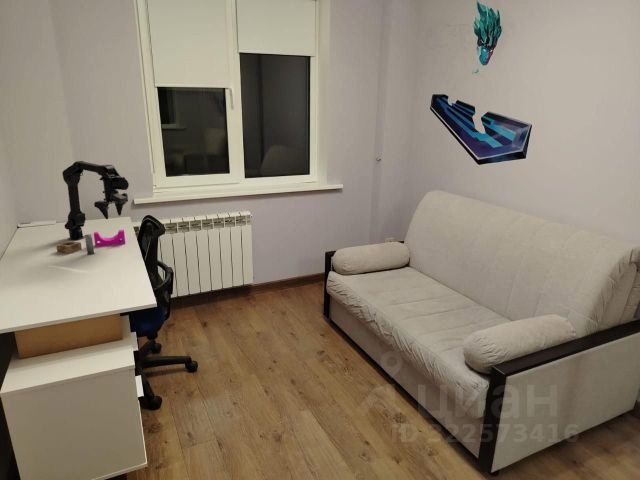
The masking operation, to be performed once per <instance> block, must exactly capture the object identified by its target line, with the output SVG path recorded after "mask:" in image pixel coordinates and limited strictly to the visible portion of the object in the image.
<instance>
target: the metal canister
mask: <svg viewBox="0 0 640 480" xmlns="http://www.w3.org/2000/svg"><path fill="white" fill-rule="evenodd" d="M84 236H85V237H84V241H85V246H86V253H87V254H86V255H88V256H89V255H90V256H91V255H95V249H94V248H95V247H94V242H93V234H91V233H90V234H85V235H84Z"/></svg>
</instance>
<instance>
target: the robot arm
mask: <svg viewBox="0 0 640 480" xmlns="http://www.w3.org/2000/svg"><path fill="white" fill-rule="evenodd" d="M84 171H87V172H93V173H96V174H97V175H98V176H101V177H100V178H99V181H102V182H103V190H102V193H103V194H104V198H103V200H97V201H94V203H93V205H94V208H96V209H98V210H99V211H100V212H101V214H102V215H103V217H104V218H105V219H106V220H108V219H109V212H108V210H109V208H110V206H109V205H112V204H114V206H115V209H116V212H117V214H118V216H119V217H120V216H121V215H122V213H123V212H122V211H123V208H124V206H125V205H126V204H127V203H128V202H129V197H128V196H129V195H128V193H127V192H123V193H119V190H120V191H127V190H128V189H129V185H130V184H129V183H130V182H129V181H128V180H127V179H126V177H125V176H121V174H120V173H119V172H118V171H117V169H116V167H115V166H114V165H113V164H96V163H92V162H87V161H83V160H78V161H75V162H73V163H72V164H71V165H70V166H68V167H67V168H66V169H64V170H63V171H62V172H61V173H62V179H63V181H64V183H65V184H66V186H67V192H68V193H67V194H68V201H69V213H68V215H67V221H66V222H65V224H64V226H63V227H64V229H65V230H68V234H69V237H67V240H71V241H72V240H73V241H78V240H81V239H85V235H84V234H83V229H82V228H83V227H85V223H86V220H87V219H86V214H85V212H83V211H82V210H81V204H80V195H79V192H80V191H79V183H80V181H81V175H82V174H83V173H84Z"/></svg>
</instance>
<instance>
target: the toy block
mask: <svg viewBox="0 0 640 480" xmlns="http://www.w3.org/2000/svg"><path fill="white" fill-rule="evenodd" d="M93 238H94V245H95V247H99V248H100V247H108V246H119V245H126V236H125V229H118V232H117V234H115V235H114V236H111V237H106V236H105V237H103V236H101V235H100V233H99V231H93ZM95 247H94V248H95Z"/></svg>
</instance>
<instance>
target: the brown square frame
mask: <svg viewBox="0 0 640 480" xmlns="http://www.w3.org/2000/svg"><path fill="white" fill-rule="evenodd" d="M55 247H56V251H57V253H59V254H60V253H61V254H66V255H71V254H74V253H77V252H80V251H82V250H83V248H82V247H83V246H82V243H81V242H79V241H72V240H68V241H65V242H62V243H58V244H55Z"/></svg>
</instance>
